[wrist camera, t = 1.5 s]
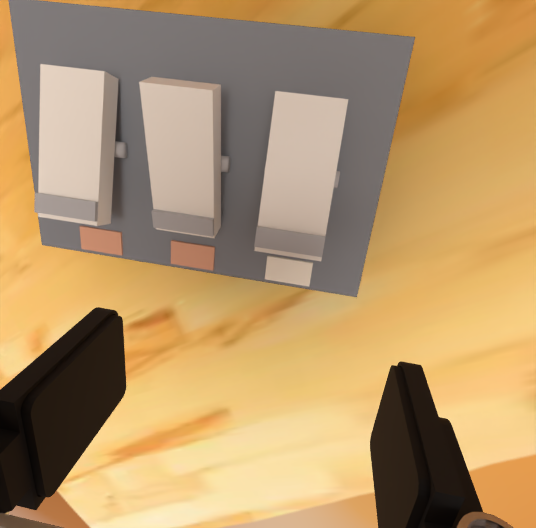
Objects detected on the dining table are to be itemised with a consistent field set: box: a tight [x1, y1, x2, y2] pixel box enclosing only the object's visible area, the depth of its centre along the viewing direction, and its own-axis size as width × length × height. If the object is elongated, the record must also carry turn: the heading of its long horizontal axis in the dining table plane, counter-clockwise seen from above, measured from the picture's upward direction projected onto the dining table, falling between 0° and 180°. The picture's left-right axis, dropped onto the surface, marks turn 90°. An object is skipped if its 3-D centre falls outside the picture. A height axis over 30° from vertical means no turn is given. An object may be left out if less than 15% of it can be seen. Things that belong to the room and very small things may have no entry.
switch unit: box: [9, 0, 415, 297], centre depth 27 cm, size 16×24×5 cm, turn 84°
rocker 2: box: [139, 77, 221, 238], centre depth 23 cm, size 9×4×2 cm, turn 174°
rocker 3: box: [254, 91, 348, 261], centre depth 23 cm, size 9×4×2 cm, turn 174°
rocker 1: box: [35, 64, 119, 226], centre depth 24 cm, size 9×4×2 cm, turn 174°
